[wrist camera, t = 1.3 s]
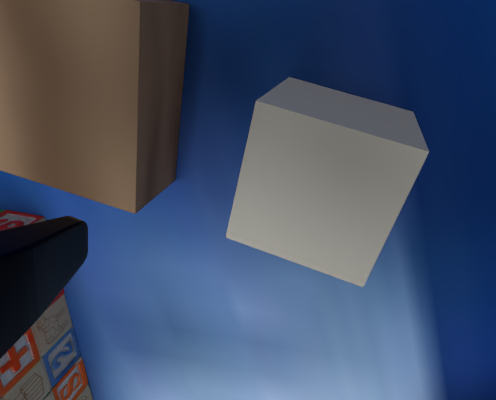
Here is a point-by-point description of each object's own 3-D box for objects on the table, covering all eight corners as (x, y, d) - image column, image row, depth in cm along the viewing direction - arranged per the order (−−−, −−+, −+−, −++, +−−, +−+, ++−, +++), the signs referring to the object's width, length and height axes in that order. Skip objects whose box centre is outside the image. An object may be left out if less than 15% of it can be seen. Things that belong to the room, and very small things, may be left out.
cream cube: (413, 111, 14) (429, 151, 10) (366, 217, 17) (363, 287, 13) (289, 76, 15) (256, 100, 11) (261, 183, 18) (225, 237, 13)
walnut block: (192, 4, 15) (140, 1, 12) (177, 177, 19) (135, 213, 16) (28, -29, 17) (-61, -41, 13) (45, 138, 21) (-20, 163, 17)
